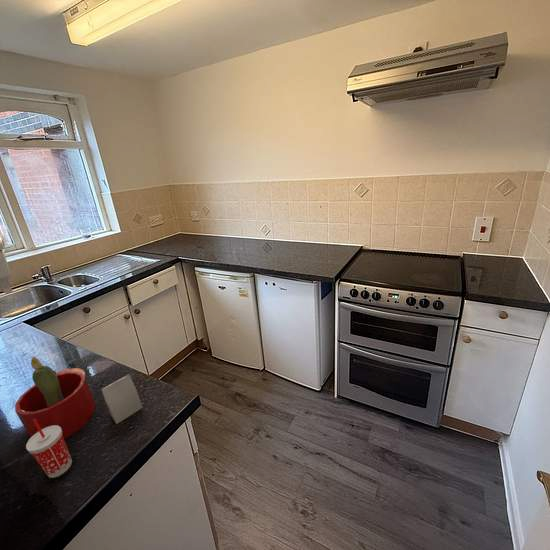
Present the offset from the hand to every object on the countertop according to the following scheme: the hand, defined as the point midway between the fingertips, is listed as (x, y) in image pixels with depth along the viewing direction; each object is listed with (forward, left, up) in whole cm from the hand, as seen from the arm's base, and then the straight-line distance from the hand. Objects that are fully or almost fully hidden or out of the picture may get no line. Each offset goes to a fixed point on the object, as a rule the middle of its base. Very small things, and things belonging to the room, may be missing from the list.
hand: (7, 288), depth 86 cm
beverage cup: (+9, -42, -31) cm, 53 cm away
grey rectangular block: (+23, -33, -31) cm, 51 cm away
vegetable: (+8, -26, -31) cm, 41 cm away
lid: (+4, -9, -30) cm, 32 cm away
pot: (+8, -26, -31) cm, 41 cm away
